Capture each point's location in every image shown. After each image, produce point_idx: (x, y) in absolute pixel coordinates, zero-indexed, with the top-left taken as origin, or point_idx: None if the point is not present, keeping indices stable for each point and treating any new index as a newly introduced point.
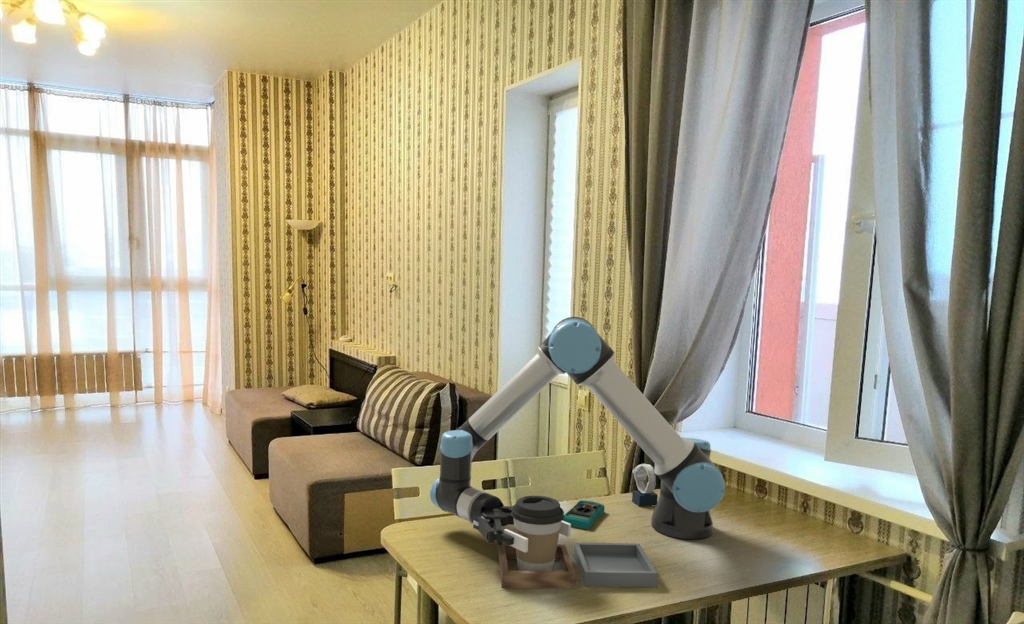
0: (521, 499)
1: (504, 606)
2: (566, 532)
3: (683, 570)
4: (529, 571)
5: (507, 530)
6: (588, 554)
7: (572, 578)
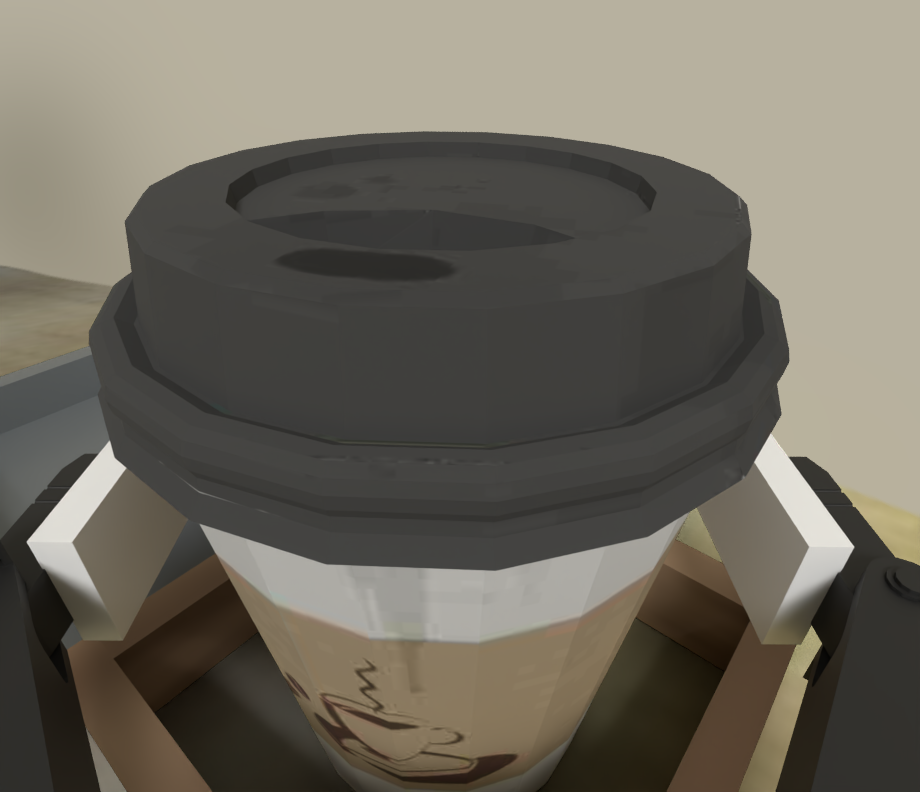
0: (565, 260)
1: None
2: None
3: (7, 361)
4: None
5: (810, 511)
6: None
7: None
